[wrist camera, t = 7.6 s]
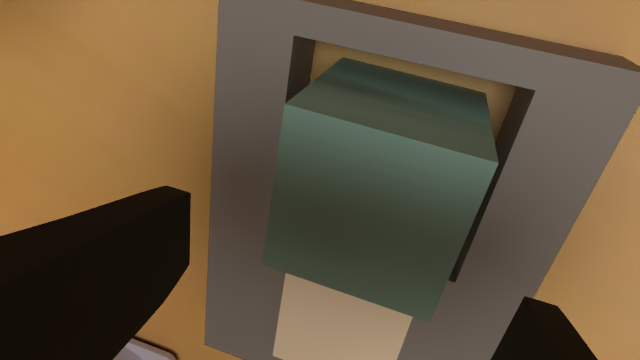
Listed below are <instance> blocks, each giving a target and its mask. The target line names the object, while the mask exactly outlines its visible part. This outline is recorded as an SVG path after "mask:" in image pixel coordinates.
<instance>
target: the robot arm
mask: <svg viewBox="0 0 640 360" xmlns="http://www.w3.org/2000/svg"><path fill="white" fill-rule="evenodd" d="M190 198H191V193H189V192H186V191H182V190H179V189H176V188H173V187H169V186H163V187H159V188H155V189H151V190H148V191H145V192H141V193H138V194H135V195H132V196H129V197H126V198H123V199H120V200H117V201H114V202H111V203H108V204H105V205H102V206H99V207H96V208H92V209H89V210H86V211H83V212H80V213H77V214H74V215H71V216H68V217H65V218H61V219H58V220H55V221H51V222H48V223H44V224H41V225H38V226H34V227H31V228H27V229H24V230H20V231H17V232H14V233H10V234H7V235H3V236H0V360H176V359H175V357H174V356H173V355H172V354H171V353H169V352H166V351H164V350H161V349H158V348H156V347H153V346H151V345H148V344H145V343H143V342H140V341H138V340H135V339H133V337H134V335H135V334H136V333H137V332H138V331H139V330H140V329H141V328H142V326H143V325H144V324H145V323H146V322H147V321H148V320H149V318H150V317H151V316H152V315H153V314H154V313H155V312H156V310H157V309H158V308H159V307H160V306H161V305H162V303H163V302H164V301H165V300H166V298H167V297H168V295H169V294H170V293H171V291H172V290H173V288H174V287H175V285H176V284H177V282H178V281H179V279H180V278H181V276H182V275H183V273H184V272H185V270H186V269H187V267H188V266H189V259H190ZM491 360H598V359H597V358H596V357H595V355H594V354H593V353H592V351H591V350H590V349H589V347H588V346H587V344H586V343H585V342H584V340H583V339H582V338H581V336H580V335H579V334H578V332H577V331H576V329H575V328H574V327H573V325H572V324H571V323H570V321H569V320H568V319H567V317H566V316H565V315H564V314H563V312H562V311H561V310H560V309H559V307H558V306H555V305H552V304H549V303H546V302H542V301H539V300H536V299H533V298H529V297H526V296H524V298H523V300H522V302H521V303H520V305H519V307H518V309H517V311H516V313H515V315H514V317H513V319H512V320H511V322H510V324H509V326H508V328H507V330H506V332H505V334H504V335H503V337H502V339H501V341H500V343H499V345H498V347H497V349H496V350H495V352H494V354H493V356H492V358H491Z"/></svg>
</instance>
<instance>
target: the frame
mask: <svg viewBox="0 0 640 360" xmlns="http://www.w3.org/2000/svg"><path fill="white" fill-rule="evenodd" d="M315 40H317V41H321V42H325V43H330V44H334V45H339V46H343V47H347V48H352V49H356V50H361V51H365V52H369V53H374V54H378V55H382V56H387V57H391V58H396V59H400V60H404V61H409V62H413V63H418V64H422V65H426V66H431V67H435V68H439V69H444V70H448V71H453V72H457V73H461V74H466V75H470V76H474V77H479V78H483V79H488V80H492V81H496V82H501V83H505V84H510V85H514V86H518V87H517V90H516V92H515V95H514V97H513V100H512V103H511V105H510V108H509V110H508V113H507V115H506V118H505V120H504V123H503V125H502V128H501V130H500V133H499V135H498V138H497V140H496V143H495V146H496V152H497V157H498V162H499V164H498V166H497V168H496V171H495V173H494V175H493V178H492V180H491V182H490V185H489V187H488V189H487V192H486V194H485V196H484V198H483V201H482V203H481V205H480V208H479V210H478V212H477V215H476V217H475V219H474V222H473V224H472V226H471V229H470V231H469V233H468V235H467V238H466V240H465V242H464V245H463V247H462V249H461V252H460V254H459V256H458V259H457V261H456V263H455V266H454V268H453V270H452V273H451V275H450V277H449V279H448V282H447V284H446V286H445V289H444V291H443V293H442V296H441V298H440V300H439V303H438V305H437V307H436V310H435V312H434V314H433V316H432V319H431V321H430V323H429V322H426V321H423V320H420V319H417V318H415V317H412V316H409V315H406V314H403V313H400V312H397V311H394V310H391V309H389V308H386V307H383V306H380V305H377V304H374V303H371V302H368V301H365V300H363V299H360V298H357V297H354V296H351V295H348V294H345V293H342V292H340V291H337V290H334V289H331V288H328V287H325V286H322V285H319V284H316V283H314V282H311V281H308V280H305V279H302V278H299V277H296V276H293V275H291V274H288V273H285V272H282V271H279V270H276V269H273V268H270V267H267V266H265V265H262V259H263V252H264V245H265V238H266V231H267V224H268V217H269V210H270V203H271V196H272V189H273V182H274V175H275V168H276V161H277V154H278V147H279V140H280V133H281V126H282V119H283V112H284V105H285V103H286V102H288V101H289V100H290V99H292V98H293V97H294V96H295V95H297V94H298V93H299V92H300V91H302V90H303V89H304V88H305V87H307V86H308V85H309V79H310V72H311V66H312V59H313V52H314V46H315ZM639 105H640V66H638V65H636V64H634V63H633V62H631V61H629V60H628V59H626V58H624V57H621V56H616V55H611V54H607V53H602V52H597V51H592V50H587V49H583V48H578V47H573V46H568V45H563V44H558V43H554V42H549V41H544V40H539V39H534V38H530V37H525V36H520V35H515V34H510V33H506V32H501V31H496V30H491V29H486V28H482V27H477V26H472V25H467V24H462V23H458V22H453V21H448V20H443V19H438V18H434V17H429V16H424V15H419V14H414V13H409V12H405V11H400V10H395V9H390V8H385V7H381V6H376V5H371V4H366V3H361V2H357V1H352V0H219V6H218V31H217V55H216V79H215V104H214V128H213V152H212V177H211V201H210V225H209V249H208V274H207V298H206V322H205V345H206V346H209V347H212V348H214V349H217V350H220V351H222V352H225V353H228V354H230V355H233V356H236V357H238V358H241V359H244V360H491V358H492V356H493V354H494V352H495V350H496V349H497V347H498V345H499V343H500V341H501V339H502V337H503V335H504V334H505V332H506V330H507V328H508V326H509V324H510V322H511V320H512V319H513V317H514V315H515V313H516V311H517V309H518V307H519V305H520V303H521V302H522V300H523V298H524V296H526V297H529V298H533V297H534V296H535V294H536V292H537V290H538V288H539V287H540V285H541V283H542V281H543V279H544V277H545V276H546V274H547V272H548V270H549V268H550V267H551V265H552V263H553V261H554V259H555V258H556V256H557V254H558V252H559V250H560V248H561V247H562V245H563V243H564V241H565V239H566V238H567V236H568V234H569V232H570V230H571V228H572V227H573V225H574V223H575V221H576V219H577V218H578V216H579V214H580V212H581V210H582V208H583V207H584V205H585V203H586V201H587V199H588V198H589V196H590V194H591V192H592V190H593V188H594V187H595V185H596V183H597V181H598V179H599V178H600V176H601V174H602V172H603V170H604V168H605V167H606V165H607V163H608V161H609V159H610V158H611V156H612V154H613V152H614V150H615V148H616V147H617V145H618V143H619V141H620V139H621V138H622V136H623V134H624V132H625V130H626V128H627V127H628V125H629V123H630V121H631V119H632V118H633V116H634V114H635V112H636V110H637V108H638V107H639Z"/></svg>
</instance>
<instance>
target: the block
mask: <svg viewBox="0 0 640 360" xmlns="http://www.w3.org/2000/svg"><path fill="white" fill-rule="evenodd" d="M498 164H499V162H498V157H497V152H496V146H495V141H494V136H493V131H492V126H491V120H490V115H489V110H488V105H487V100H486V94H485V93H484V92H480V91H476V90H472V89H468V88H464V87H460V86H456V85H452V84H448V83H444V82H440V81H436V80H432V79H428V78H424V77H420V76H416V75H412V74H408V73H404V72H400V71H396V70H392V69H388V68H384V67H380V66H376V65H372V64H368V63H364V62H360V61H356V60H352V59H348V58H344V57H343V58H342V59H341V60H339V61H338V62H337V63H336V64H334V65H333V66H332V67H331V68H329V69H328V70H327V71H326V72H324V73H323V74H322V75H321V76H319V77H318V78H317V79H315V80H314V81H313V82H312V83H310V84H309V85H308V86H307V87H305V88H304V89H303V90H302V91H300V92H299V93H298V94H297V95H295V96H294V97H293V98H292V99H290V100H289V101H288V102H286V103H285V105H284V112H283V119H282V126H281V133H280V140H279V147H278V154H277V161H276V168H275V175H274V182H273V189H272V196H271V203H270V210H269V217H268V224H267V231H266V238H265V245H264V252H263V259H262V265H265V266H267V267H270V268H273V269H276V270H279V271H282V272H285V273H288V274H291V275H293V276H296V277H299V278H302V279H305V280H308V281H311V282H314V283H316V284H319V285H322V286H325V287H328V288H331V289H334V290H337V291H340V292H342V293H345V294H348V295H351V296H354V297H357V298H360V299H363V300H365V301H368V302H371V303H374V304H377V305H380V306H383V307H386V308H389V309H391V310H394V311H397V312H400V313H403V314H406V315H409V316H412V317H415V318H417V319H420V320H423V321H426V322H429V323H430V321H431V319H432V316H433V314H434V312H435V310H436V307H437V305H438V303H439V300H440V298H441V296H442V293H443V291H444V289H445V286H446V284H447V282H448V279H449V277H450V275H451V273H452V270H453V268H454V266H455V263H456V261H457V259H458V256H459V254H460V252H461V249H462V247H463V245H464V242H465V240H466V238H467V235H468V233H469V231H470V229H471V226H472V224H473V222H474V219H475V217H476V215H477V212H478V210H479V208H480V205H481V203H482V201H483V198H484V196H485V194H486V192H487V189H488V187H489V185H490V182H491V180H492V178H493V175H494V173H495V171H496V168H497V166H498Z"/></svg>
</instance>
